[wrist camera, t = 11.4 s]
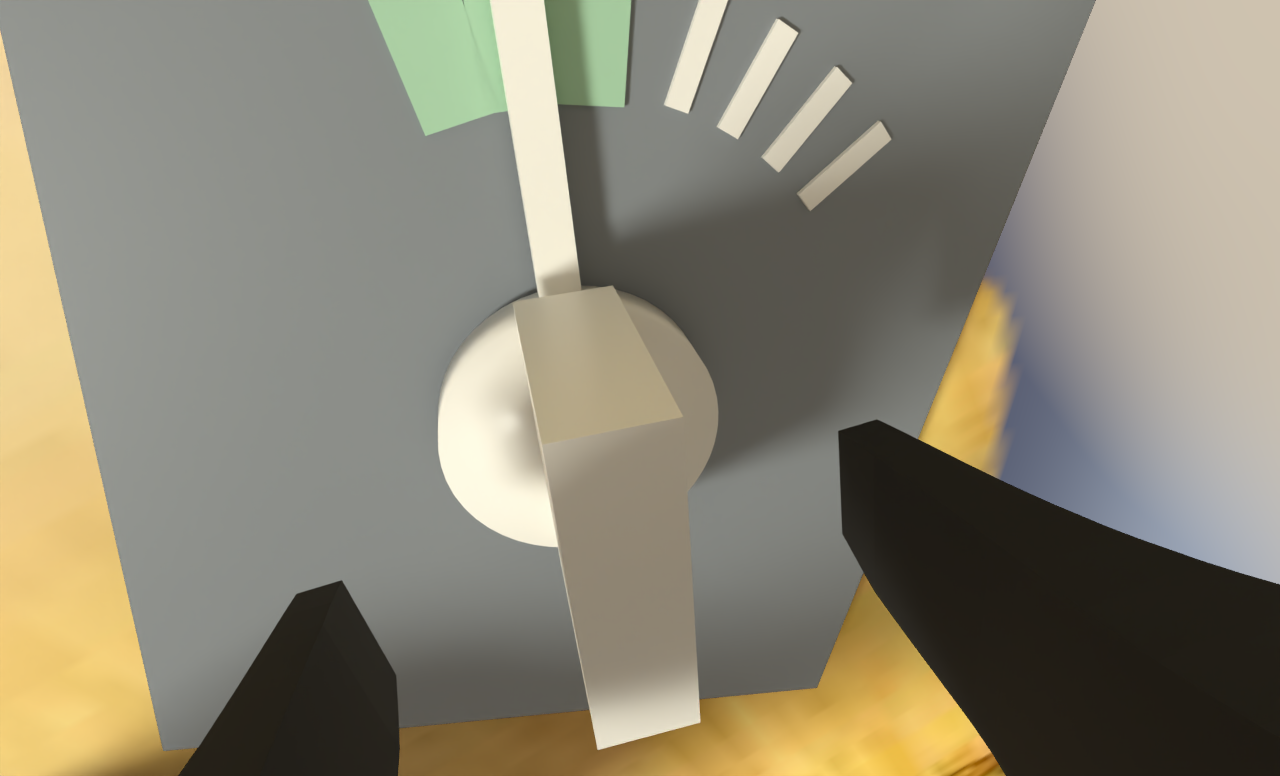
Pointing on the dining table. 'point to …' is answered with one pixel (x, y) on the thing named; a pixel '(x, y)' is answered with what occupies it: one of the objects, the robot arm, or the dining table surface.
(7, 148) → the dining table surface
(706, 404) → the knob
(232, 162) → the dial board
